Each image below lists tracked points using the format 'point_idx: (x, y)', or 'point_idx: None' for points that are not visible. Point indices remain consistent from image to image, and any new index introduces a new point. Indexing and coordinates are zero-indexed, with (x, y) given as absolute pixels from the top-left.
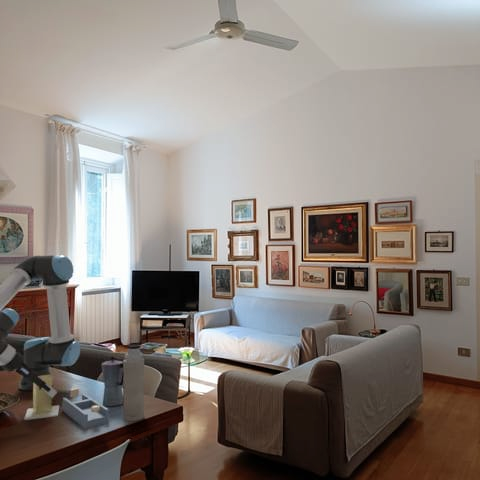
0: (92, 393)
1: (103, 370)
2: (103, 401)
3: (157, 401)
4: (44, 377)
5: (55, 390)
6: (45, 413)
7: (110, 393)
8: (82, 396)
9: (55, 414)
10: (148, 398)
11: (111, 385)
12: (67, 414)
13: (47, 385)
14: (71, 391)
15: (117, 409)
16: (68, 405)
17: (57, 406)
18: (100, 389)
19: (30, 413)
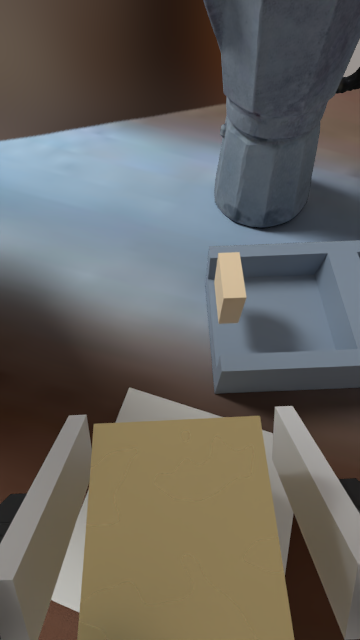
0: (49, 213)
1: (331, 19)
2: (269, 213)
3: None
4: (264, 561)
5: (303, 423)
6: None
7: (309, 160)
8: (215, 265)
9: None
10: None
11: (322, 114)
12: (301, 389)
13: (354, 523)
14: (244, 301)
15: (338, 203)
16: (338, 372)
17: (144, 401)
18: (22, 177)
19: None
